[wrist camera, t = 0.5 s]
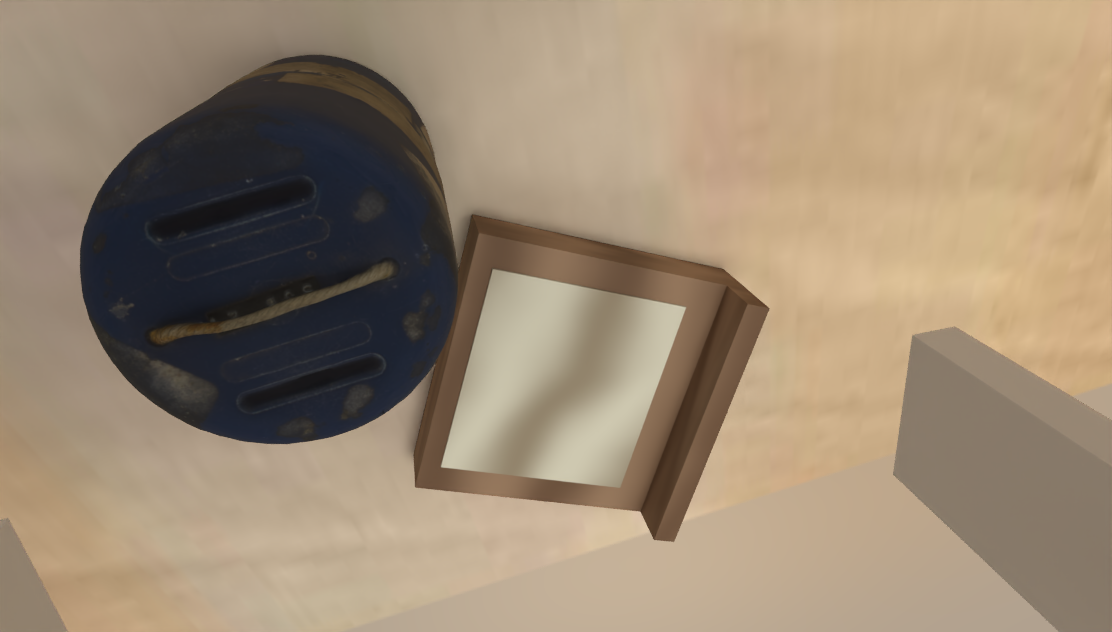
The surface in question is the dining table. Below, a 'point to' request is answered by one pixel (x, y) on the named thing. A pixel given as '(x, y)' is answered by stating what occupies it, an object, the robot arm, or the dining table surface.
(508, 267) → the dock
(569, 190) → the dining table surface
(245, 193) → the canister
